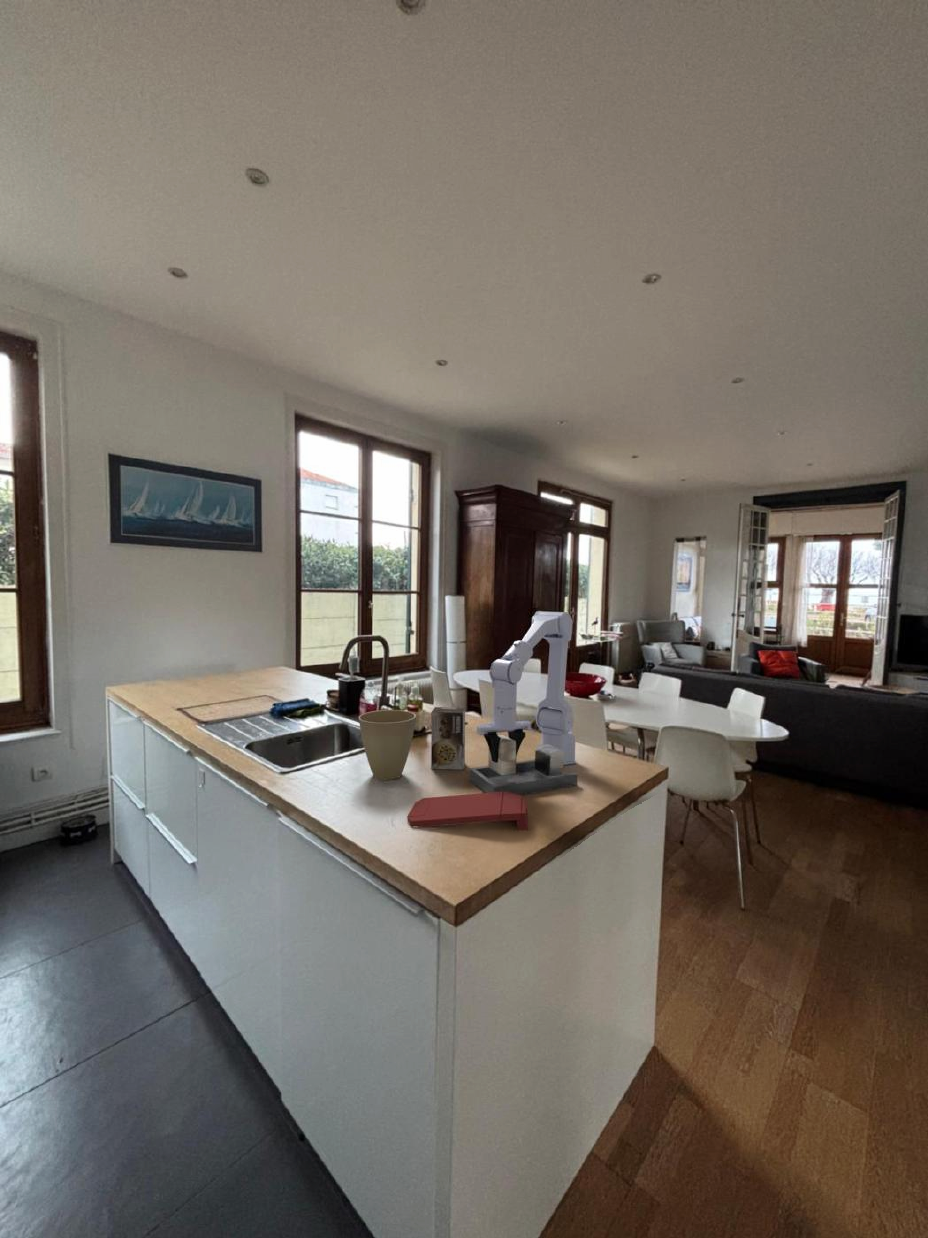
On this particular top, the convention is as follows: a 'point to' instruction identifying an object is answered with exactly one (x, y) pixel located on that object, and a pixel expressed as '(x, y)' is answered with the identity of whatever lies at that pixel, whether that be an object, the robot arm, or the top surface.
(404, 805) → the top surface
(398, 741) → the plant pot
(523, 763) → the tray
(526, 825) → the red bent plate
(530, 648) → the robot arm
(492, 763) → the finger block
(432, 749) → the food box
